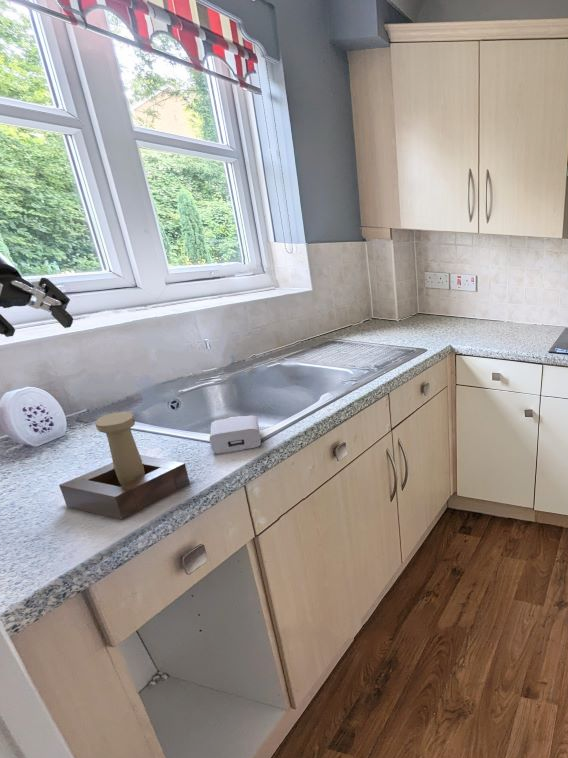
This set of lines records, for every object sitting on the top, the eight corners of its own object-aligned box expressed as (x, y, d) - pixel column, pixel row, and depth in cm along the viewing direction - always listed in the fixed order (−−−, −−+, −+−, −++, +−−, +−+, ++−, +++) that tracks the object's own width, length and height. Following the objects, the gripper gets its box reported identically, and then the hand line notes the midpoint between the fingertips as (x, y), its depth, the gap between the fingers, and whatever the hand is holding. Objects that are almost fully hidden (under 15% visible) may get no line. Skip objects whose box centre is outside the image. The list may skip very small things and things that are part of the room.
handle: (115, 504, 81) (90, 427, 75) (124, 487, 86) (102, 414, 81) (149, 498, 83) (127, 423, 78) (156, 481, 88) (136, 410, 83)
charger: (258, 423, 116) (261, 446, 104) (215, 429, 111) (213, 454, 99) (255, 406, 114) (258, 427, 102) (211, 411, 109) (208, 435, 97)
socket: (122, 519, 77) (115, 496, 75) (66, 507, 79) (58, 484, 78) (190, 483, 88) (185, 463, 86) (139, 473, 90) (133, 453, 89)
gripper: (-82, 245, 73) (-5, 323, 74) (29, 244, 86) (92, 310, 87) (-90, 277, 76) (-16, 350, 77) (18, 271, 89) (80, 334, 90)
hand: (42, 329), depth 82 cm, fingers open, 8 cm apart
